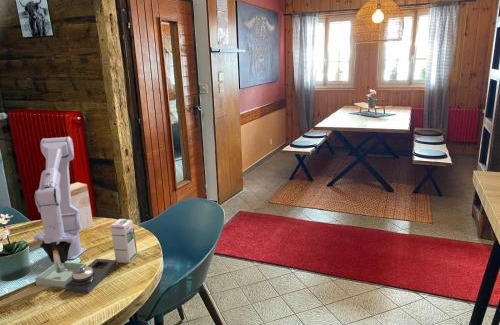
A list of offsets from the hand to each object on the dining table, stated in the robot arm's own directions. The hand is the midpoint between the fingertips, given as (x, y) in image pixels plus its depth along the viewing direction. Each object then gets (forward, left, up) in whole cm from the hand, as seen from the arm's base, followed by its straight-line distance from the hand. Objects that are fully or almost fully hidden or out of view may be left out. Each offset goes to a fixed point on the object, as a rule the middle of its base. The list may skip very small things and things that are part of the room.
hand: (59, 261), depth 127 cm
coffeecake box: (-20, +33, -6) cm, 39 cm away
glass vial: (0, 0, -3) cm, 3 cm away
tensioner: (+10, +2, -6) cm, 12 cm away
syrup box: (+15, +15, -6) cm, 22 cm away
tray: (0, 0, -6) cm, 6 cm away
